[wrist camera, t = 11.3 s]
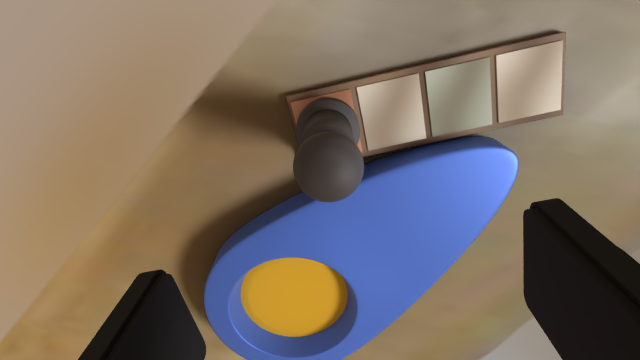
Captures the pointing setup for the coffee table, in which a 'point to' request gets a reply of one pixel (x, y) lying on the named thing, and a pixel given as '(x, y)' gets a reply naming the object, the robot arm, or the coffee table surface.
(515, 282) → the coffee table surface
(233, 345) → the location marker
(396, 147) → the board
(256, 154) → the coffee table surface
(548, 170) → the coffee table surface
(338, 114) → the pawn
